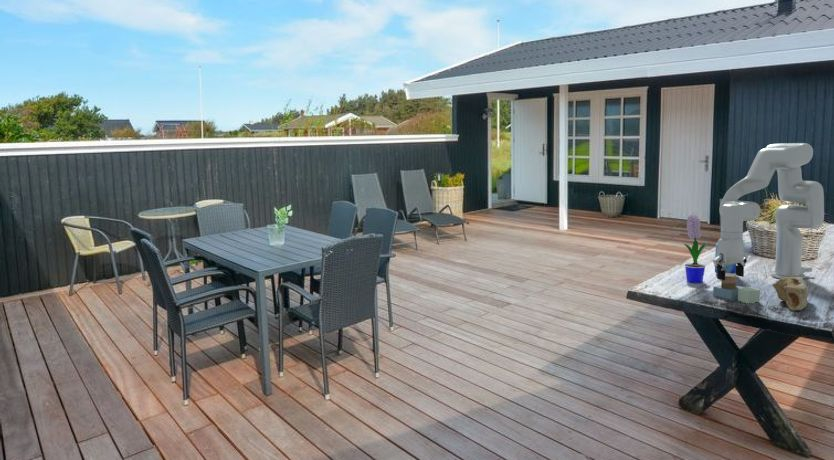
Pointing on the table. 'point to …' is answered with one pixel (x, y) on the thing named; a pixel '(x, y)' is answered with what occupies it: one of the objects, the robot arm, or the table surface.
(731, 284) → the walnut cube
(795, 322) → the table surface
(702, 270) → the hyacinth
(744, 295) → the sage cube
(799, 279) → the stone
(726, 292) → the base block
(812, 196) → the robot arm
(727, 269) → the beer can
